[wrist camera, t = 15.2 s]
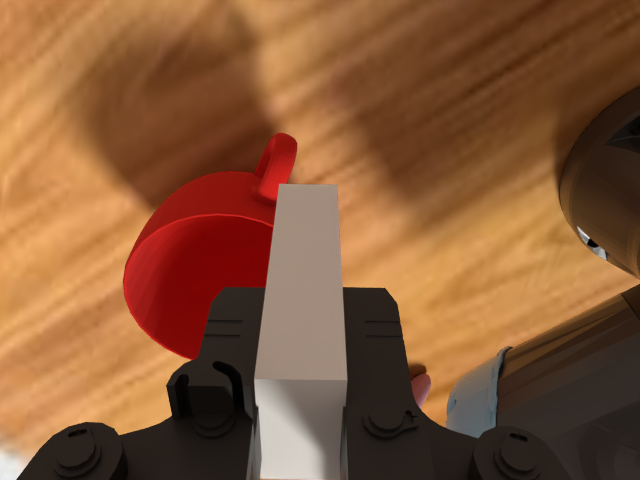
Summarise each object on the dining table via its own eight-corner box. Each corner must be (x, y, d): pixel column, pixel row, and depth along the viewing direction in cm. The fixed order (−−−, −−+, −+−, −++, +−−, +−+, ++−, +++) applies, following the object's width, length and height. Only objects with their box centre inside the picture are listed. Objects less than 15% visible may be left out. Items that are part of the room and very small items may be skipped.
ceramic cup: (375, 127, 40) (394, 202, 31) (288, 294, 48) (285, 386, 40) (198, 56, 36) (167, 118, 28) (139, 249, 45) (103, 338, 37)
